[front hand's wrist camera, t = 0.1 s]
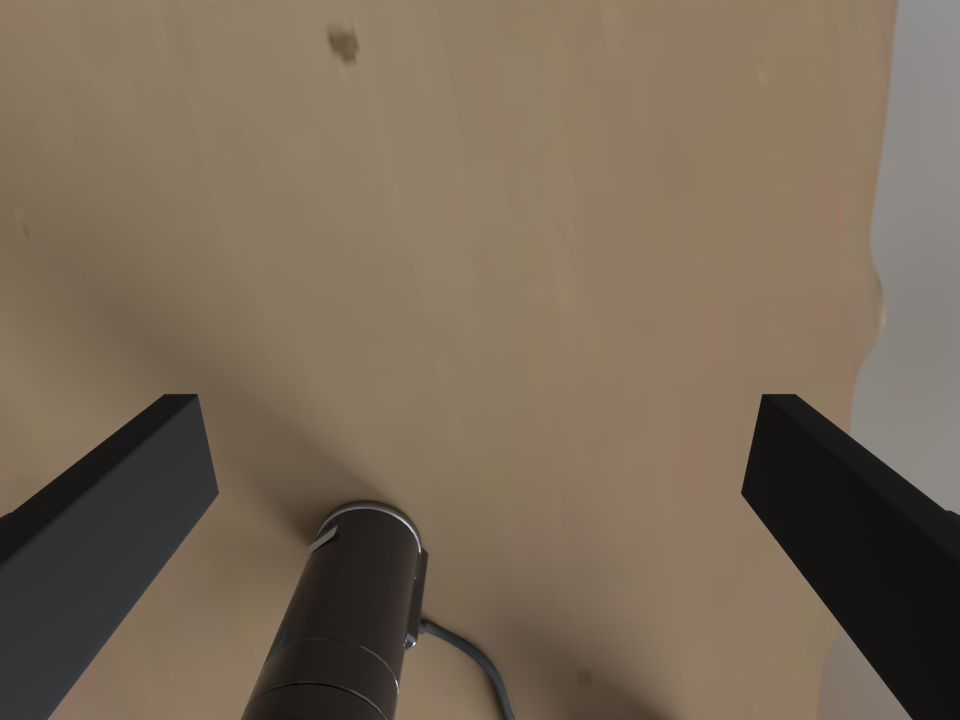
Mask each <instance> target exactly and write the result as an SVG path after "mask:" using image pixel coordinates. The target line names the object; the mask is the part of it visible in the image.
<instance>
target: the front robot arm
mask: <svg viewBox="0 0 960 720" xmlns="http://www.w3.org/2000/svg"><path fill="white" fill-rule="evenodd" d="M218 494H219V491H218V487H217V482H216V477H215V473H214V468H213V463H212V459H211V454H210V450H209V445H208V440H207V436H206V431H205V426H204V422H203V417H202V412H201V408H200V403H199V398H198V394H164V395H163V396H162V397H160V398H159V399H158V400H156V401H155V402H154V403H153V404H151V405H150V406H149V407H147V408H146V409H145V410H144V411H142V412H141V413H140V414H138V415H137V416H136V417H135V418H133V419H132V420H131V421H129V422H128V423H127V424H125V425H124V426H123V427H122V428H120V429H119V430H118V431H116V432H115V433H114V434H113V435H111V436H110V437H109V438H107V439H106V440H105V441H104V442H102V443H101V444H100V445H98V446H97V447H96V448H95V449H93V450H92V451H91V452H89V453H88V454H87V455H85V456H84V457H83V458H82V459H80V460H79V461H78V462H76V463H75V464H74V465H73V466H71V467H70V468H69V469H67V470H66V471H65V472H64V473H62V474H61V475H60V476H58V477H57V478H56V479H54V480H53V481H52V482H51V483H49V484H48V485H47V486H45V487H44V488H43V489H42V490H40V491H39V492H38V493H36V494H35V495H34V496H33V497H31V498H30V499H29V500H27V501H26V502H25V503H24V504H22V505H21V506H20V507H18V508H17V509H16V510H14V511H13V512H12V513H8V514H6V515H5V516H3V517H1V518H0V720H47V719H48V718H49V717H50V715H51V714H52V713H53V712H54V710H55V709H56V708H57V706H58V705H59V704H60V702H61V701H62V700H63V698H64V697H65V696H66V694H67V693H68V692H69V690H70V689H71V688H72V686H73V685H74V684H75V683H76V681H77V680H78V679H79V677H80V676H81V675H82V673H83V672H84V671H85V669H86V668H87V667H88V665H89V664H90V663H91V661H92V660H93V659H94V658H95V656H96V655H97V654H98V652H99V651H100V650H101V648H102V647H103V646H104V644H105V643H106V642H107V640H108V639H109V638H110V636H111V635H112V634H113V633H114V631H115V630H116V629H117V627H118V626H119V625H120V623H121V622H122V621H123V619H124V618H125V617H126V615H127V614H128V613H129V611H130V610H131V609H132V607H133V606H134V605H135V604H136V602H137V601H138V600H139V598H140V597H141V596H142V594H143V593H144V592H145V590H146V589H147V588H148V586H149V585H150V584H151V582H152V581H153V580H154V579H155V577H156V576H157V575H158V573H159V572H160V571H161V569H162V568H163V567H164V565H165V564H166V563H167V561H168V560H169V559H170V557H171V556H172V555H173V553H174V552H175V551H176V550H177V548H178V547H179V546H180V544H181V543H182V542H183V540H184V539H185V538H186V536H187V535H188V534H189V532H190V531H191V530H192V528H193V527H194V526H195V525H196V523H197V522H198V521H199V519H200V518H201V517H202V515H203V514H204V513H205V511H206V510H207V509H208V507H209V506H210V505H211V503H212V502H213V501H214V499H215V498H216V497H217V496H218ZM741 494H742V496H743V497H744V498H745V500H746V501H747V502H748V503H749V505H750V506H751V507H752V509H753V510H754V511H755V513H756V514H757V515H758V517H759V518H760V519H761V521H762V522H763V523H764V525H765V526H766V527H767V528H768V530H769V531H770V532H771V534H772V535H773V536H774V538H775V539H776V540H777V542H778V543H779V544H780V546H781V547H782V548H783V550H784V551H785V552H786V553H787V555H788V556H789V557H790V559H791V560H792V561H793V563H794V564H795V565H796V567H797V568H798V569H799V571H800V572H801V573H802V575H803V576H804V577H805V579H806V580H807V581H808V582H809V584H810V585H811V586H812V588H813V589H814V590H815V592H816V593H817V594H818V596H819V597H820V598H821V600H822V601H823V602H824V604H825V605H826V606H827V607H828V609H829V610H830V611H831V613H832V614H833V615H834V617H835V618H836V619H837V621H838V622H839V623H840V625H841V626H842V627H843V629H844V630H845V631H846V632H847V634H848V635H849V636H850V638H851V639H852V640H853V642H854V643H855V644H856V646H857V647H858V648H859V650H860V651H861V652H862V654H863V655H864V656H865V657H866V659H867V660H868V661H869V663H870V664H871V665H872V667H873V668H874V669H875V671H876V672H877V673H878V675H879V676H880V677H881V679H882V680H883V681H884V683H885V684H886V685H887V686H888V688H889V689H890V690H891V692H892V693H893V694H894V696H895V697H896V698H897V700H898V701H899V702H900V704H901V705H902V706H903V708H904V709H905V710H906V712H907V713H908V714H909V715H910V717H911V718H912V719H913V720H960V515H958V514H956V513H954V512H952V511H946V510H944V509H943V508H942V507H940V506H939V505H938V504H936V503H935V502H934V501H933V500H931V499H930V498H929V497H927V496H926V495H925V494H924V493H922V492H921V491H920V490H918V489H917V488H916V487H915V486H913V485H912V484H911V483H909V482H908V481H907V480H906V479H904V478H903V477H902V476H900V475H899V474H898V473H896V472H895V471H894V470H893V469H891V468H890V467H889V466H887V465H886V464H885V463H884V462H882V461H881V460H880V459H878V458H877V457H876V456H875V455H873V454H872V453H871V452H869V451H868V450H867V449H865V448H864V447H863V446H862V445H860V444H859V443H858V442H856V441H855V440H854V439H853V438H851V437H850V436H849V435H847V434H846V433H845V432H844V431H842V430H841V429H840V428H838V427H837V426H836V425H835V424H833V423H832V422H831V421H829V420H828V419H827V418H825V417H824V416H823V415H822V414H820V413H819V412H818V411H816V410H815V409H814V408H813V407H811V406H810V405H809V404H807V403H806V402H805V401H804V400H802V399H801V398H800V397H798V396H797V395H796V394H762V398H761V403H760V408H759V412H758V417H757V422H756V426H755V431H754V436H753V440H752V445H751V450H750V454H749V459H748V463H747V468H746V473H745V477H744V482H743V487H742V491H741Z"/></svg>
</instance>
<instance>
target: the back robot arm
mask: <svg viewBox="0 0 960 720" xmlns="http://www.w3.org/2000/svg"><path fill="white" fill-rule="evenodd" d="M309 553H311V554H310V556H309V558H308V561H307V563H306V565H305V568H304V570H303V573H302V575H301V577H300V580H299V582H298V584H297V587H296V589H295V592H294V594H293V596H292V599H291V601H290V604H289V606H288V608H287V611H286V613H285V615H284V618H283V620H282V623H281V625H280V627H279V630H278V632H277V634H276V637H275V639H274V642H273V644H272V646H271V649H270V651H269V654H268V656H267V658H266V661H265V663H264V666H263V668H262V670H261V673H260V675H259V678H258V680H257V682H256V685H255V687H254V689H253V692H252V694H251V697H250V699H249V701H248V704H247V706H246V708H245V711H244V713H243V715H242V717H241V720H394V719H395V713H396V706H397V700H398V692H399V685H400V679H401V672H402V666H403V659H404V653H405V651H407V650H408V649H410V648H411V647H412V646H414V645H415V643H416V642H417V639H418V634H424V633H426V632H428V633H430V634H433V635H435V636H437V637H439V638H441V639H443V640H445V641H447V642H449V643H451V644H452V645H454V646H456V647H457V648H459V649H460V650H462V651H463V652H465V653H466V654H467V655H469V656H470V657H471V658H473V659H474V660H475V661H476V662H477V663H478V664H479V665H480V666H481V667H482V668H483V669H484V670H485V671H486V672H487V674H488V675H489V677H490V678H491V680H492V682H493V684H494V686H495V689H496V692H497V696H498V699H499V702H500V706H501V709H502V711H503V714H504V717H505V719H506V720H515V718H514V716H513V713H512V710H511V707H510V704H509V701H508V698H507V694H506V691H505V687H504V684H503V682H502V679H501V677H500V675H499V673H498V671H497V670H496V668H495V667H494V665H493V664H492V663H491V662H490V661H489V659H488V658H487V657H486V656H485V655H484V654H482V653H481V652H480V651H479V650H478V649H477V648H475V647H474V646H473V645H471V644H470V643H469V642H467V641H466V640H464V639H463V638H461V637H459V636H457V635H455V634H453V633H451V632H449V631H447V630H445V629H443V628H441V627H439V626H438V625H436V624H434V623H432V622H429V621H427V620H421V621H420V616H421V609H422V601H423V593H424V585H425V577H426V570H427V562H428V553H427V552H425V551H424V550H423V549H422V545H421V538H420V534H419V532H418V530H417V528H416V526H415V525H414V523H413V522H412V521H411V520H410V519H409V518H408V517H407V516H406V515H405V514H403V513H402V512H401V511H399V510H397V509H395V508H393V507H391V506H389V505H386V504H382V503H378V502H370V501H362V502H354V503H350V504H347V505H344V506H342V507H340V508H338V509H336V510H334V511H333V512H332V513H331V514H330V515H328V516H327V518H326V519H325V520H324V522H323V523H322V525H321V527H320V530H319V532H318V535H317V537H316V541H315V542H314V543H313V544H312V545H310V546H309V547H308V548H307V550H306V552H305V555H304V557H305V556H307V555H308V554H309ZM304 557H303V558H304Z"/></svg>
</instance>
